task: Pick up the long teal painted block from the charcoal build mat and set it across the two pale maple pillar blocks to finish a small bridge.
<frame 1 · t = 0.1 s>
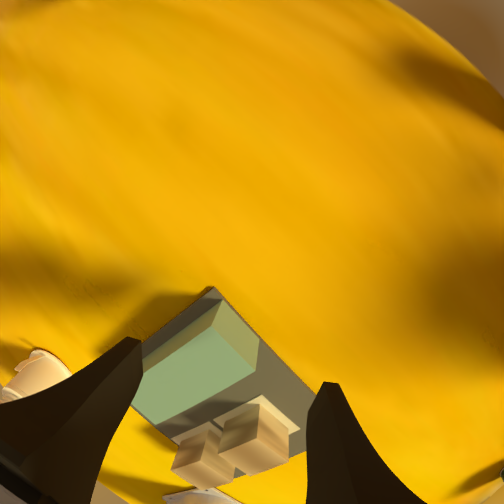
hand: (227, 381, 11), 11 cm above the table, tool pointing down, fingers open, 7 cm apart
lintel: (192, 353, 22), resting on mat
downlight: (55, 375, 26), on the table
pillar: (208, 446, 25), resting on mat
pillar 1: (256, 425, 24), resting on mat
mat: (222, 409, 24), on the table
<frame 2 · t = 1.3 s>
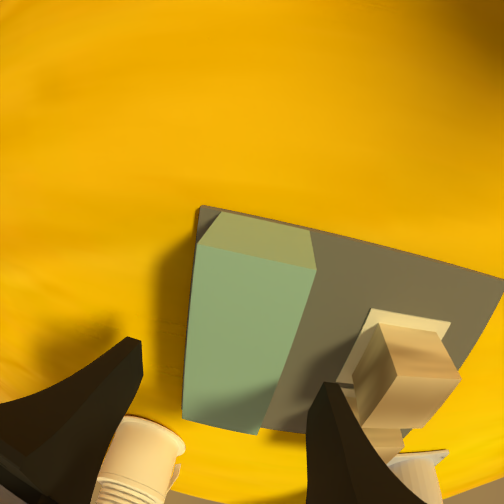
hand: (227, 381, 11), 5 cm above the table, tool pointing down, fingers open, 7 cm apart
lintel: (245, 312, 16), resting on mat
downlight: (150, 435, 23), on the table
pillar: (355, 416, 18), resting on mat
pillar 1: (394, 354, 16), resting on mat
mat: (338, 361, 17), on the table
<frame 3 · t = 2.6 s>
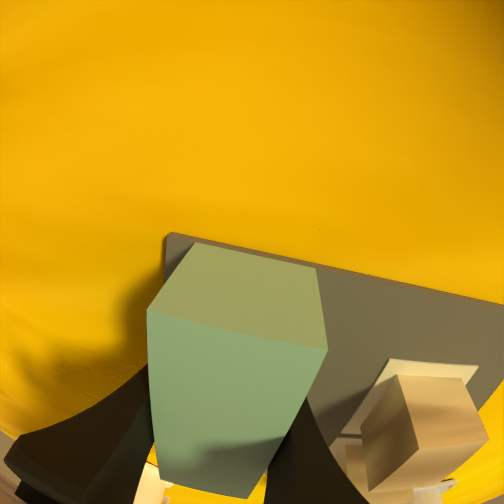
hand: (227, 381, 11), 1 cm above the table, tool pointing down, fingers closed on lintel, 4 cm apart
lintel: (231, 364, 12), resting on mat, touching gripper
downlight: (136, 467, 20), on the table
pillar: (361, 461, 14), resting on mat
pillar 1: (411, 404, 12), resting on mat
mat: (345, 412, 13), on the table
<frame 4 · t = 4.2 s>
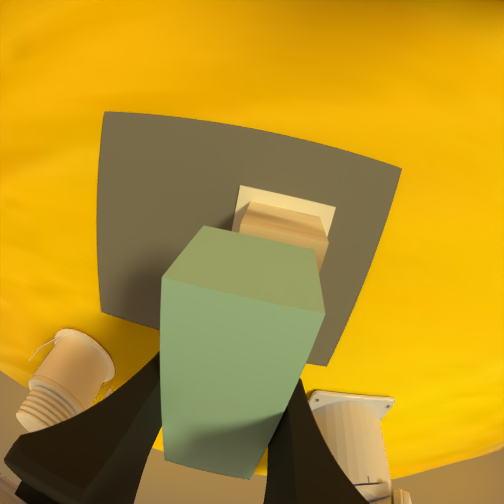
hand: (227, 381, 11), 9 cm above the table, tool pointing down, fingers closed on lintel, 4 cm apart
lintel: (235, 344, 13), point 7 cm above the table, touching gripper
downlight: (86, 355, 25), on the table
pillar 1: (277, 241, 18), resting on mat
mat: (225, 249, 19), on the table
when the fingers open (7 cm above the table, at t = 5.5 s): lintel stays where it is, resting on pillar, pillar 1.
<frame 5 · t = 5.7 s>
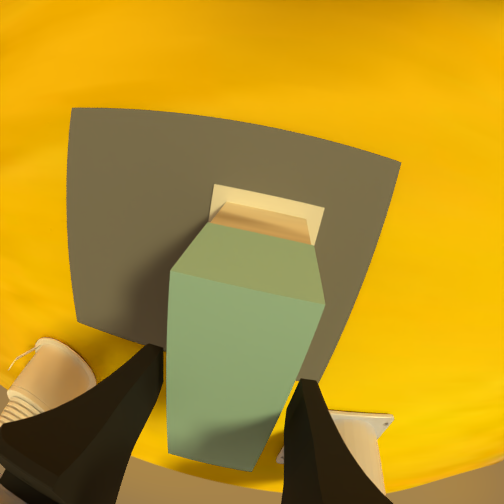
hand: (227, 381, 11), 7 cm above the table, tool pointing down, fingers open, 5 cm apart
lintel: (238, 338, 13), point 4 cm above the table, touching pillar, pillar 1
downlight: (67, 365, 23), on the table
pillar 1: (258, 247, 16), resting on mat, touching lintel
mat: (200, 256, 17), on the table
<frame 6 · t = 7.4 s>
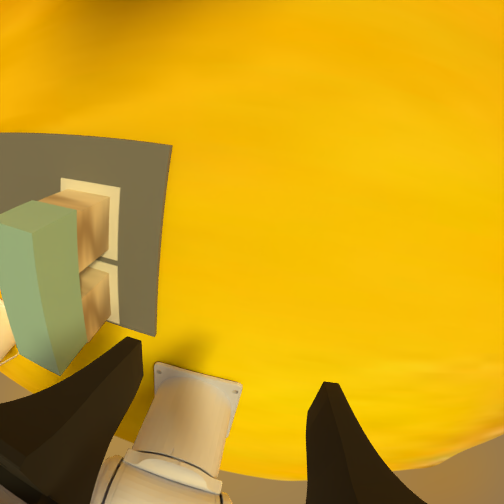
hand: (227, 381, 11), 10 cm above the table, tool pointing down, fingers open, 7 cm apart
lintel: (57, 276, 17), point 4 cm above the table, touching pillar, pillar 1
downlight: (7, 319, 27), on the table
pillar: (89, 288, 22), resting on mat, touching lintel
pillar 1: (87, 218, 20), resting on mat, touching lintel
mat: (62, 227, 21), on the table
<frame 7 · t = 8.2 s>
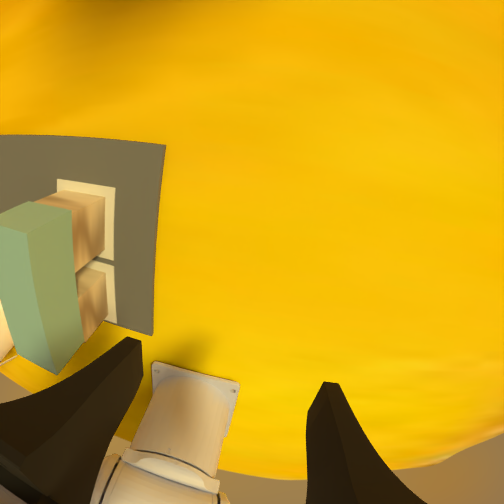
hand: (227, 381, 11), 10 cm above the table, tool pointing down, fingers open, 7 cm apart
lintel: (54, 276, 17), point 4 cm above the table, touching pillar, pillar 1
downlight: (7, 320, 27), on the table
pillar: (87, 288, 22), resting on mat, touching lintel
pillar 1: (83, 219, 20), resting on mat, touching lintel
mat: (59, 228, 21), on the table
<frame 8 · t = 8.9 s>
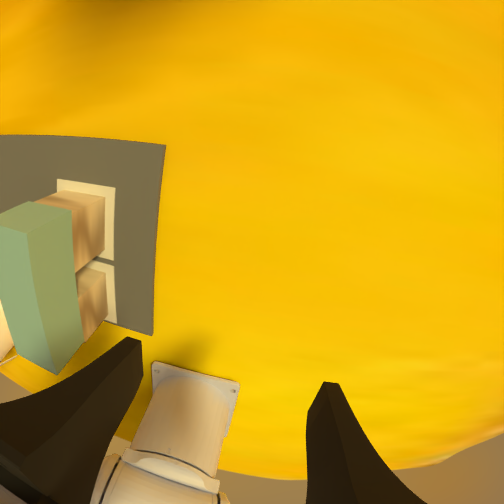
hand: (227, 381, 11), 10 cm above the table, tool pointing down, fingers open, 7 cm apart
lintel: (54, 276, 17), point 4 cm above the table, touching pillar, pillar 1
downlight: (7, 320, 27), on the table
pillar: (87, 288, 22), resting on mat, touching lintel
pillar 1: (83, 219, 20), resting on mat, touching lintel
mat: (59, 228, 21), on the table
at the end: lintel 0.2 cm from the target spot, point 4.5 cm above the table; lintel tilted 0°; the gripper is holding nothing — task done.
